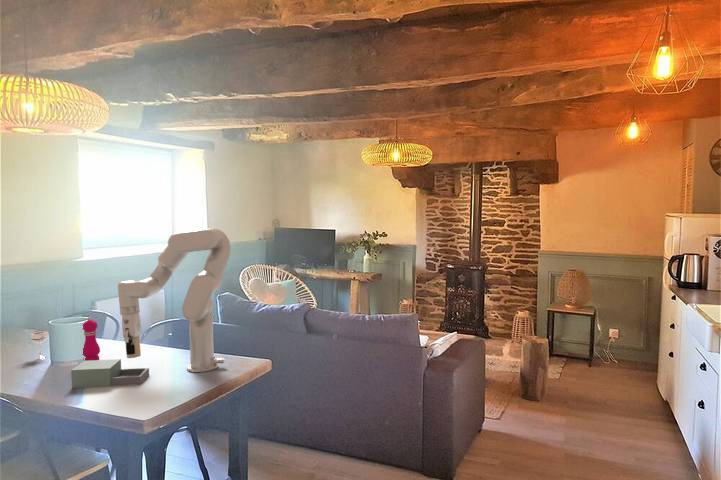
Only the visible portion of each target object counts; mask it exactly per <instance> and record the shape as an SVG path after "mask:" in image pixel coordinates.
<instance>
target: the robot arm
mask: <svg viewBox="0 0 721 480" xmlns="http://www.w3.org/2000/svg"><path fill="white" fill-rule="evenodd" d="M209 250H210V251H209ZM201 251H202V252H203V251H209V254H208V256H207V257H206V259H205V262H204V265H203V268H202V270H201V271H200V273H198V274H197V275H195V276H194V277H193V279H192V280H191V282H190V283H189V287H188V290H187V292H186V294H185V298H184V301H183V303H182V307H181V314H182V316H183V317H184V318H185V320H187V321H188V322H189V352H190V353H189V355H190V358H189V360H190V361H189V362H190V363H189V364H188V365H187V366H186V370H187V371H188V372H191V373H205V372H211V371H212V370H215V369H217V368H218V367H219V365H218V364H222V365H223V364H225V358H223V357H216V354H214V353H215V351H214V311H215V306H214V305H215V304H214V301H213V299H212V296H213V294H214V293H215V292H216V291H217V290H218V289H219V288H220V285H221V281H222V279H223V276H224V274H225V270H226V268H227V267H226V266H227V265H228V261H229V259H230V255H231V243H230V240H229V237H228V236H227V234H226V233H225V232H224V231H222V230H221V229H219V228H215V227H211V228H210V227H209V228H205V229H204V228H203V229H198V230H197V229H196V230H190V231H178V232H174V233H173V234H171V235H170V236H169V238H168V240H167V246H166V247H165V249H164V250H163V251H162V252H161V253H160V255H158V257H157V260H158V263H157V266H156V268H155V269H154V270H153V271H152V273H151V274H150V275H149V276H148V277H147V278H145V279H142V280H138V281H136V280H123V281H120V282H118V284H117V292H118V303H119V304H118V305H119V315H120V316H121V317H122V318H121V325H122V328H121V329H122V330H121V331H122V336H123V339H124V342H126V344H125V352H127V355H129V354H135V347H134V344H133V338H135V337H137V336H138V335H139V336H140V335H141V334H142V333H143V330H142V324H141V317H140V316H141V315H140V311H141V310H140V299H147V298H149V297H152V296H154V295H156V294H158V293H159V292H160V291H161V290H162V289H163V287H164V286H165V285H166V284H167V283H168V282H169V280H170V278H172V276H173V274H174V273H175V271H176V269H177V268H178V267H179V266H180V264H181V263H182V262H183V261H184V259H185V258H186V257H187V256H188V255H189V253H195V252H201ZM129 336H132V337H129ZM129 339H131V340H129ZM127 355H126V356H127Z"/></svg>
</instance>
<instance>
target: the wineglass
mask: <svg viewBox="0 0 721 480" xmlns="http://www.w3.org/2000/svg"><path fill="white" fill-rule="evenodd" d="M48 338H49V337H48V330H47V329H46V330H45V329H41V330H35V331H30V340H31V341H32V342H33V343H35V344H37V345H38V352H39V353H38V354H39V355H38V356H36V357H34V358H33V360H43V359H45V357H46V355H41V354H42V353H41V351H42V349H41V347H42V346H41V345H42V343H44V342H46V341H47V339H48ZM42 358H43V359H42ZM46 358H47V357H46Z"/></svg>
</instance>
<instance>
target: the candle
mask: <svg viewBox="0 0 721 480" xmlns="http://www.w3.org/2000/svg"><path fill="white" fill-rule="evenodd" d="M129 337H132V336H129ZM129 340H131V339H129ZM124 342H125V341H124ZM133 344H134V347H135V354H129V355H127V352H126V351H125V352H126V353H125V354H126V358H127V359H135V358H139V357H140V356H141V353H142V352H141V343H140V335H138V336H137V337H135V338H133ZM125 345H126V342H125Z"/></svg>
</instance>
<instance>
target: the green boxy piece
mask: <svg viewBox="0 0 721 480" xmlns="http://www.w3.org/2000/svg"><path fill="white" fill-rule="evenodd" d="M70 373H71V375H70V376H71V377H70V378H71V389H78V388H80V389H83V388H84V389H85V388H101V387H104V388H105V387H113V386H115V387H117V386H133V385H134V386H135V385H137V386H139V385H142V383H144V382H145V380H146V379H147V378H148V377H149V376H150V368H149V367H144V368H143V367H142V368H141V367H139V368H137V367H136V368H122V360H121V358H119V359H117V358H116V359H113V358H112V359H99V360H90V361H84V360H83V361H82V362H80V363H79V364H78V365H76V366H75V367H73V368H72V369H71V370H70Z"/></svg>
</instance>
